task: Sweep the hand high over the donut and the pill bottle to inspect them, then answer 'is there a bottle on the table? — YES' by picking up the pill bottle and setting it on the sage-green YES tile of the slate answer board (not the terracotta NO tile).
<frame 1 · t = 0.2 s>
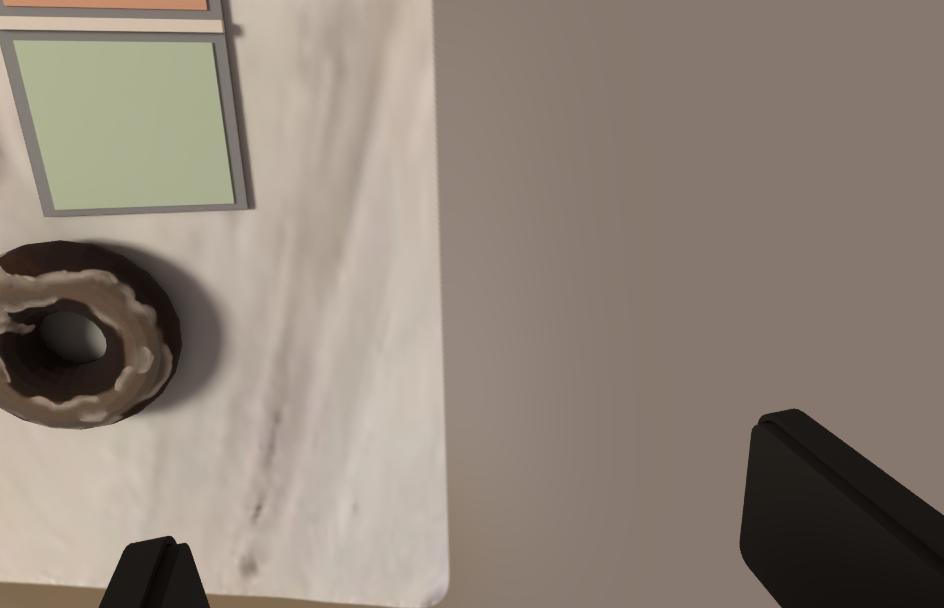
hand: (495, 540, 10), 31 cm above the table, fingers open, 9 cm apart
donut: (87, 324, 38), on the table
answer board: (115, 25, 32), on the table
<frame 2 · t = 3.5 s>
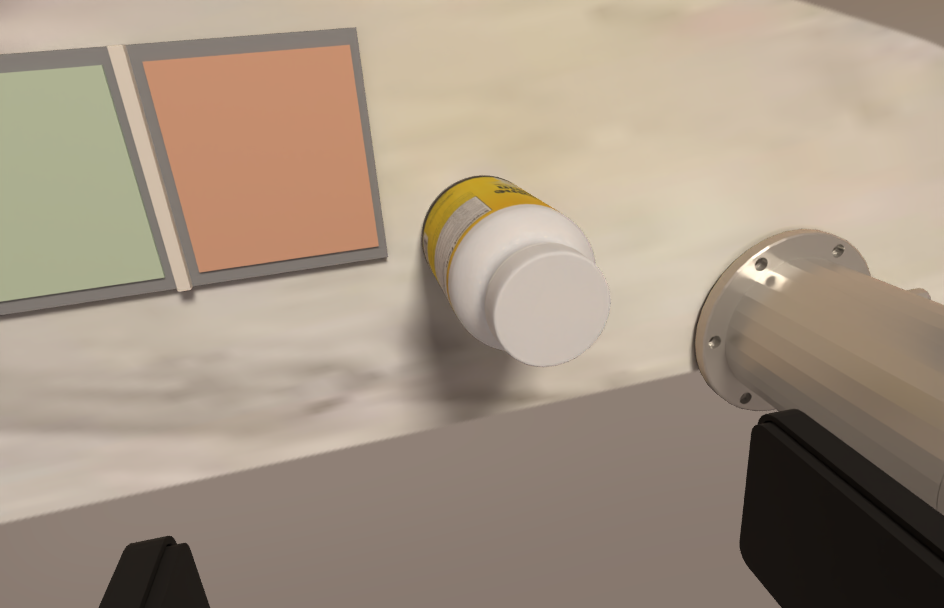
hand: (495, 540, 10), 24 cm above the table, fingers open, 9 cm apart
pill bottle: (476, 231, 33), on the table
answer board: (156, 174, 28), on the table
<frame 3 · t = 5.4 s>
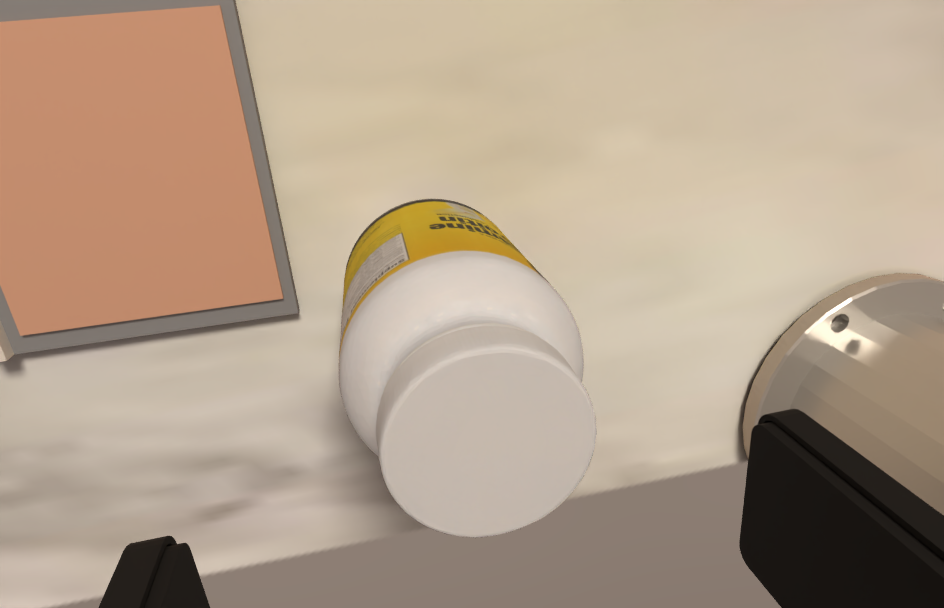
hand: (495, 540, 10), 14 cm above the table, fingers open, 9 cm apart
pill bottle: (428, 276, 24), on the table
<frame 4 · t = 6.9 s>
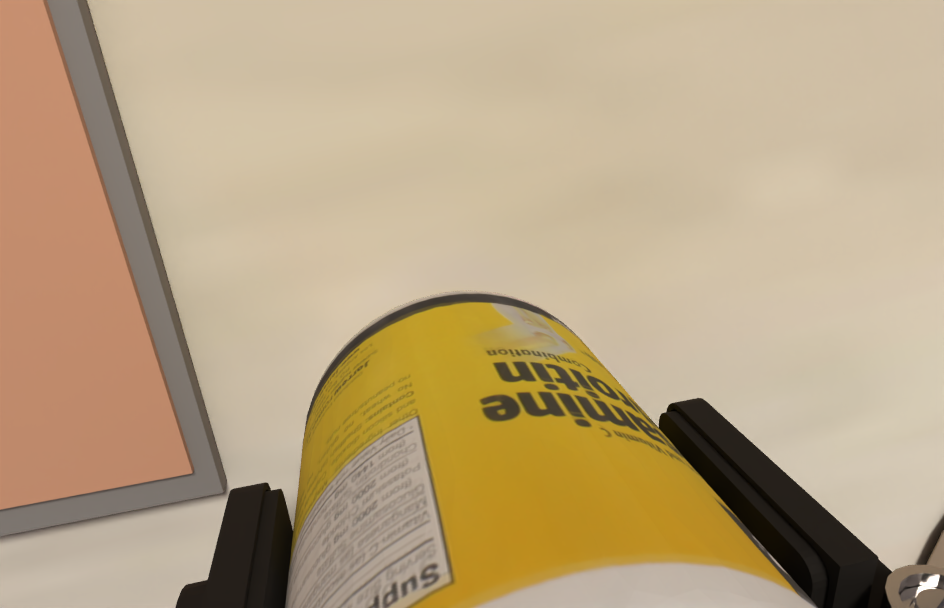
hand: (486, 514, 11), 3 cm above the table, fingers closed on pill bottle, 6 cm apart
pill bottle: (453, 412, 14), on the table, touching gripper
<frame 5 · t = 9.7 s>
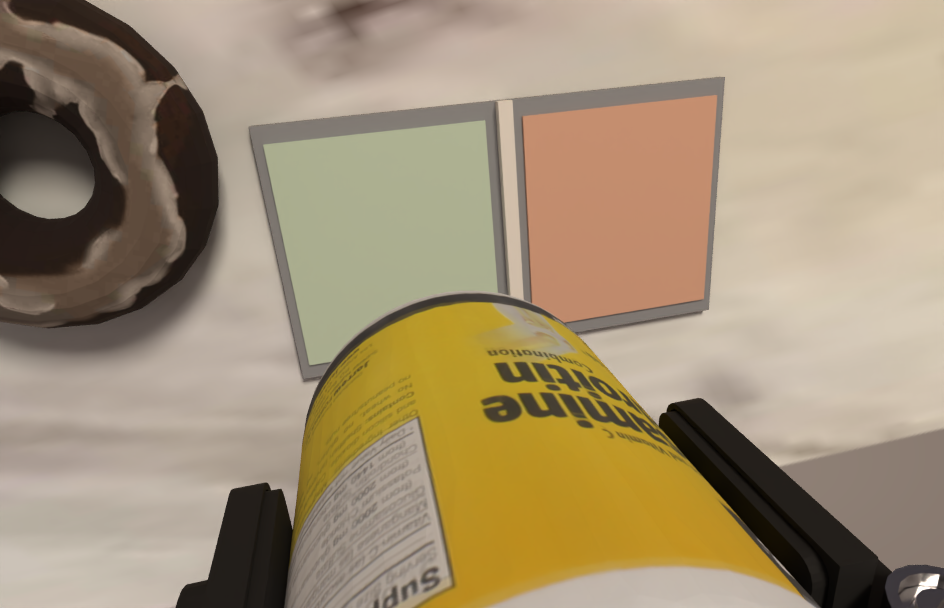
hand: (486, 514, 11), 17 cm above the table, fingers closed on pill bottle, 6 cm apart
donut: (63, 158, 23), on the table
pill bottle: (453, 412, 14), point 14 cm above the table, touching gripper
answer board: (507, 228, 27), on the table
when the fingers open (5 cm above the table, at t = 12.4 s): pill bottle drops 1 cm, resting on answer board.
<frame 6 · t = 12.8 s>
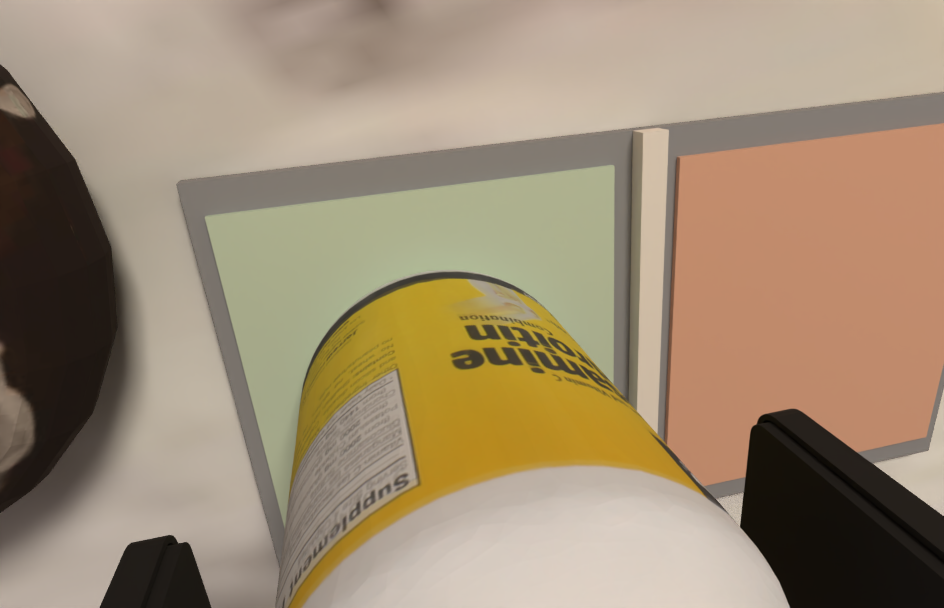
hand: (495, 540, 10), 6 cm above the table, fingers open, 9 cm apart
pill bottle: (437, 383, 15), resting on answer board
answer board: (633, 342, 16), on the table
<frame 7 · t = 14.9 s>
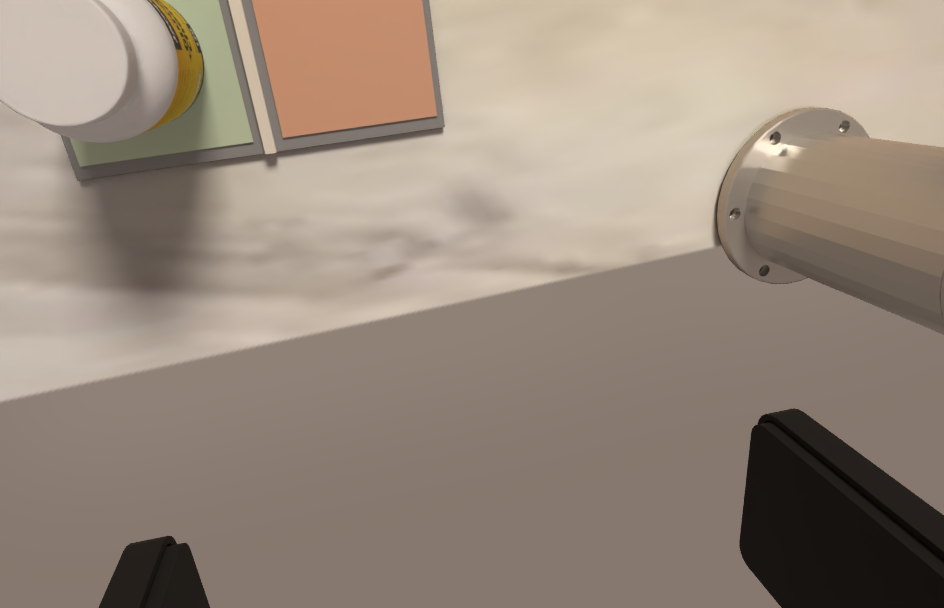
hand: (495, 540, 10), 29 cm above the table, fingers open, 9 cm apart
pill bottle: (138, 58, 31), resting on answer board
answer board: (246, 46, 32), on the table
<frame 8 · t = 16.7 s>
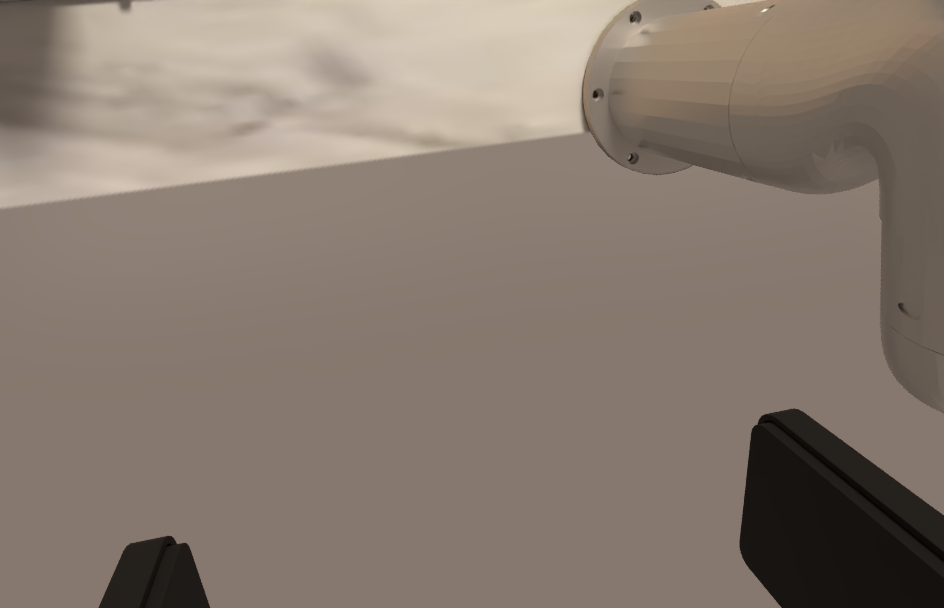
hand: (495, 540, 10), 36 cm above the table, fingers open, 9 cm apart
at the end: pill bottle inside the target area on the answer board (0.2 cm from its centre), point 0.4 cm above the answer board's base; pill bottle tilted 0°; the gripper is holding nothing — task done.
